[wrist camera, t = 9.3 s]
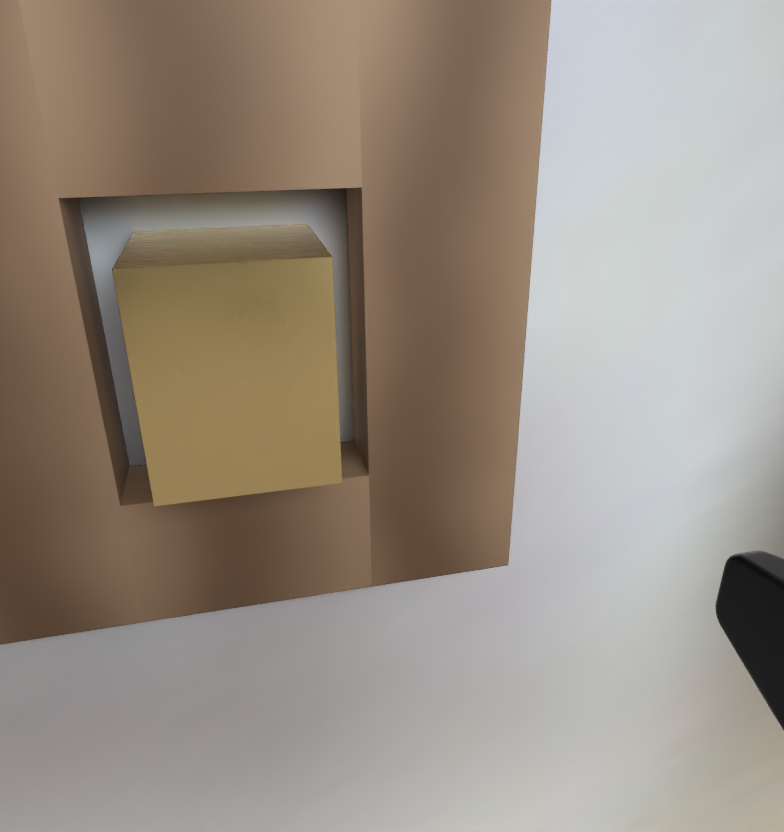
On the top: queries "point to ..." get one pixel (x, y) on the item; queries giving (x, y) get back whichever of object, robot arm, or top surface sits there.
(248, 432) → the tan wooden block
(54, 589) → the brown square frame
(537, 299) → the top surface
